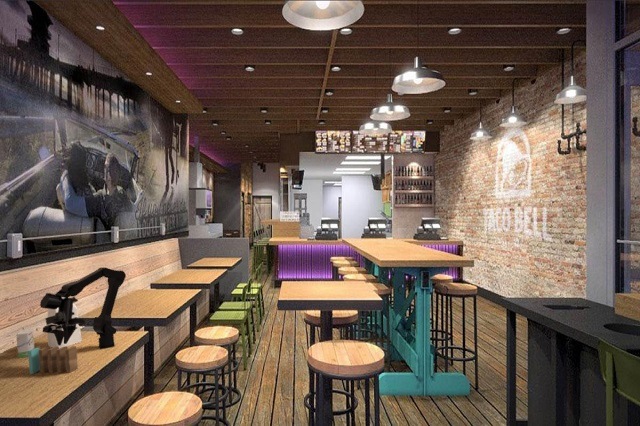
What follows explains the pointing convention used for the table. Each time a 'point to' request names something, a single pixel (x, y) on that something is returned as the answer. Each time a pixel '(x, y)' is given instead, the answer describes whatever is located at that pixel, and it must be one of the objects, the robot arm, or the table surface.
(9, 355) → the table surface
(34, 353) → the domino
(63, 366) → the domino
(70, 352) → the domino
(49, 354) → the domino
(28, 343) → the ink box
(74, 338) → the milk
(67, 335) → the robot arm
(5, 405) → the table surface
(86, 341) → the table surface
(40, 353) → the domino
